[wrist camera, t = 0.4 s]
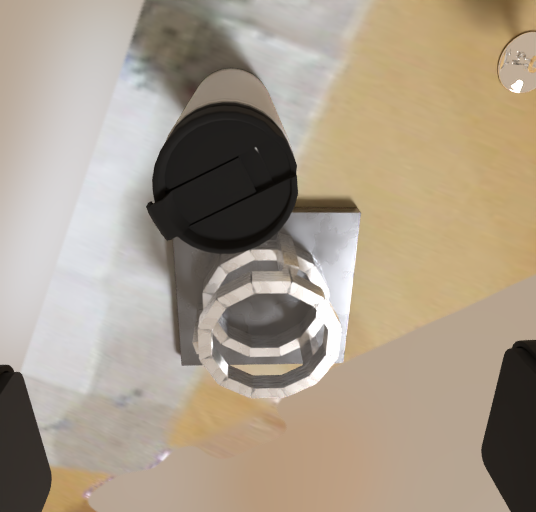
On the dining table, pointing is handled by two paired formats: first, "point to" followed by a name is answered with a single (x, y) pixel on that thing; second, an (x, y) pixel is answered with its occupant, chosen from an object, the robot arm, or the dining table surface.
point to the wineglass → (519, 64)
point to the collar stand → (270, 303)
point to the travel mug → (225, 168)
